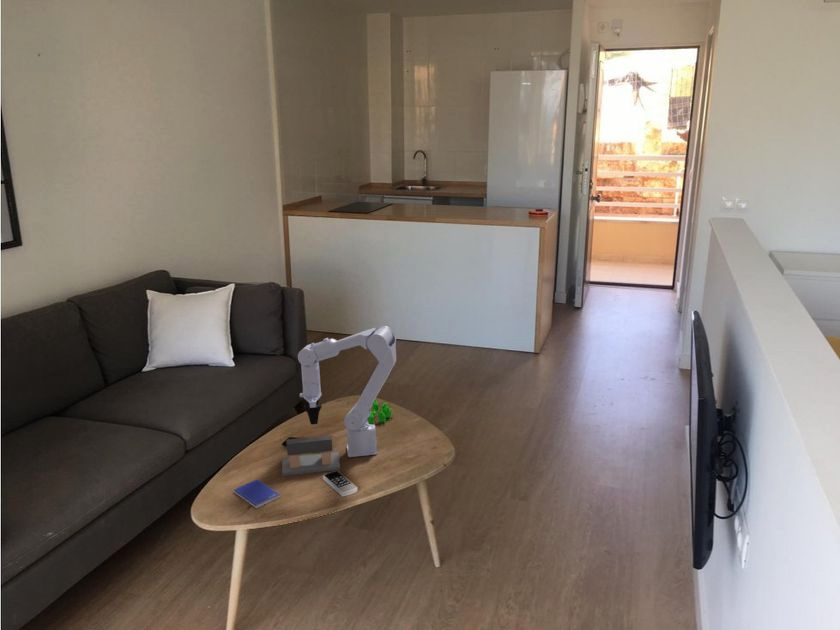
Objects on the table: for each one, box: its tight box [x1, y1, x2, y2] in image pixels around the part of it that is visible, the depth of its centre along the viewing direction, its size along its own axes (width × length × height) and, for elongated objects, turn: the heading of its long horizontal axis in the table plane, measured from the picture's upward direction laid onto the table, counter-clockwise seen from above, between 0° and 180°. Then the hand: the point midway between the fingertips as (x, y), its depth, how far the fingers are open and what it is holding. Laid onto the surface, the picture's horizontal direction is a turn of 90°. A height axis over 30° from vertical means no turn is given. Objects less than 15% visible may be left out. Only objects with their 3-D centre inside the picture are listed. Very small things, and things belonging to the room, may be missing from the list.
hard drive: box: [233, 479, 281, 509], centre depth 196 cm, size 2×8×12 cm
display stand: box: [281, 451, 341, 477], centre depth 211 cm, size 18×10×5 cm, turn 100°
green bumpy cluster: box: [367, 399, 394, 425], centre depth 245 cm, size 15×15×7 cm
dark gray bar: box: [286, 434, 333, 456], centre depth 210 cm, size 14×3×4 cm, turn 100°
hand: (313, 418), depth 221 cm, fingers open, 7 cm apart
